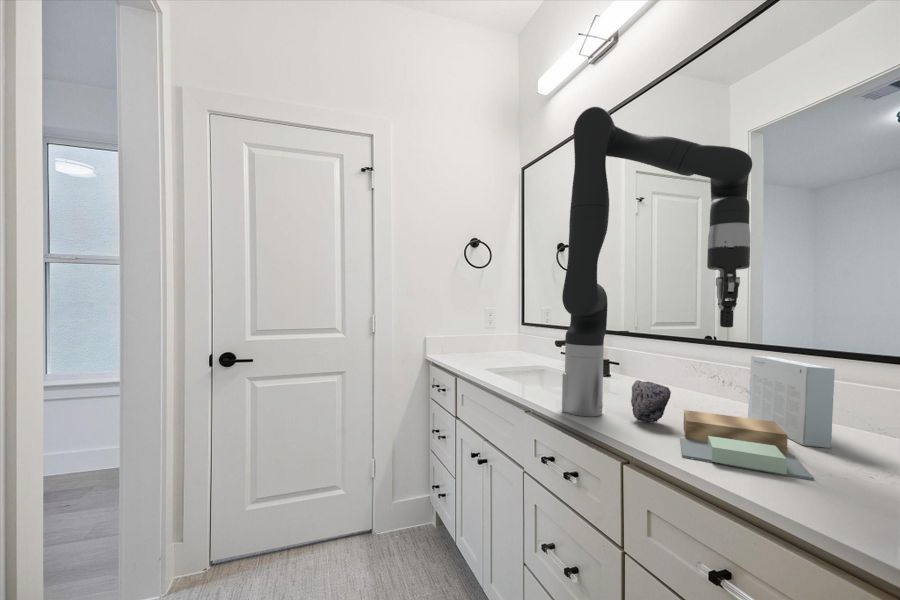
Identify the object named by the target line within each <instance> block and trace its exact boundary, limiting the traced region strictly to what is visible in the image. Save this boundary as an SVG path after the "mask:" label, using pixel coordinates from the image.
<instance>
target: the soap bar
mask: <svg viewBox="0 0 900 600" xmlns="http://www.w3.org/2000/svg"><path fill="white" fill-rule="evenodd" d="M708 451H709V454H710V457H711V460H712V462H717V463H716V464H718V463H723V464H722V465H724V464H729V465H734V466H733V467H735V466H740V467H739V468H741V467H746V468H752V469H758V470H763V471H769V472H775V473H781V474H786V475H787V459H786V457H785V456H784V455H783V454H782V453H781V452H780V450H779V449H778V448H777V447H776V446H774V445H767V444H760V443H753V442H747V441H740V440H733V439H726V438H720V437H713V436H708ZM712 462H711V463H712ZM729 465H728V466H729ZM746 468H745V469H746ZM752 469H751V470H752ZM758 470H757V471H758ZM763 471H762V472H763ZM769 472H768V473H769ZM775 473H774V474H775ZM786 475H785V476H786Z"/></svg>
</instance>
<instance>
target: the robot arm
mask: <svg viewBox="0 0 900 600" xmlns="http://www.w3.org/2000/svg"><path fill="white" fill-rule="evenodd" d="M573 145H574V146H573V147H574V148H573V149H574V169H573V170H574V171H573V179H572V187H571V198H570V199H571V201H570V209H569V222H568V224H569V228H568V229H569V230H568V231H569V233H568V250H567V251H568V252H567V255H568V256H567V263H566V264H567V265H566V272H565V278H564V284H563V288H562V294H561V295H562V297H561V298H562V299H561V300H562V304H563V307H564V309H565V310H566V312H567V313H568V314H569V315H570V323H569V327H568V329H567V330H566V333H565V337H564V338H565V344H564V345H565V349H564V351H565V353H564V372H563V373H562V384H561V385H562V388H561V390H562V391H561V393H562V394H561V412H564V413H567V414H570V415H575V416H581V417H598V416H601V415H603V401H604V400H603V397H604V395H603V394H604V392H603V390H604V348H605V347H604V346H605V345H604V344H605V343H604V342H605V341H604V340H605V336H606V332H607V327H608V326H607V325H608V323H607V321H608V295H607V292H606V290H605V288H604V287H603V286H602V285H601V284H599V283H598V261H599V257H600V252H601V251H602V247H603V245H604V243H605V239H606V236H607V232H608V226H609V216H610V215H609V213H610V195H609V194H610V192H609V183H608V176H607V169H606V165H607V164H606V160H607V157H611V158H618V159H624V160H629V161H633V162H637V163H641V164H645V165H648V166H651V167H655V168H658V169H661V170H664V171H668V172H670V173H674V174H677V175H679V176H686V177H691V176H693V175H697V176H700V177H704V178H709V179H710V199H711V200H710V201H711V204H710V210H709V230H708V236H707V256H706V257H707V259H706V260H707V261H706V264H707V265H706V267H707V269H709V270H712V271H719V276H717V277H716V278H715V286H716V298H717V302H718V303H717V305H718V308H719V309H718V310H720V311H719V326H720V327H722V328H733V327H734V311H735V309H736V307H737V305H738V303H737V302H738V301H737V299H738V297H739V287H740V284H741V277H740V276H737V270H738V271H739V270H746V269H749V268H750V266H751V230H750V212H751V211H750V202H749V200H748V187H749V186H748V185H749V175H750V174H751V171H752V169H753V161H752V158H751V156H750V154H748V153H747V152H745V151H744V150H741V149H739V148H735V147H729V146H724V145H721V146H720V145H709V144H707V145H705V144H700V143H698V142H693V141H689V140H687V139H681V138H678V137H673V136H667V135H665V136H664V135H644V134H636V133H632V132H630V131H627V130H626V129H622V128H620V127H619V126H616V125H615V123H614V120H613V118H612V116H611V114H610V113H609V112H608V110H607V109H604V108H602V107H600V106H591V107H589V108H586V109H585V110H583V111H582V112H581V114H579V116H578V117H577V118H576V120H575V122H574V126H573Z"/></svg>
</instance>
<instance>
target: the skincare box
mask: <svg viewBox="0 0 900 600" xmlns="http://www.w3.org/2000/svg"><path fill="white" fill-rule="evenodd" d="M749 370H750V375H749V376H750V377H749V388H748V389H749V390H748V395H749V398H748V408H747V418H751V419H759V420H767V421H774V422H775V423H776V424H777V425H778V426H779V427H780V428H781V429H782V430H783V431H784V432H785V433H786V434H787V439H790V440H791V441H794V442H795V443H797V444H799V445H802V446H805V447H806V446H807V447H819V448H827V449H829V448H830V449H831V448H832V438H833V437H832V433H833V432H832V431H833V411H834V410H833V409H834V390H835V373H836V372H835V371H836V369H835V368H832V367H827V366H823V365H818V364H817V365H816V364H814V363H813V364H812V363H807V362H801V361H797V360H791V359H787V358H786V359H785V358H780V357H775V356H767V355H766V356H763V355H750V369H749Z"/></svg>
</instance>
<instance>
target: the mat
mask: <svg viewBox="0 0 900 600" xmlns="http://www.w3.org/2000/svg"><path fill="white" fill-rule="evenodd" d="M679 442H680V450H681V451H680V452H681V458H684V457H687V458H686V459H690V458H693V459H692V460H695V459H698V460H697V461H701V460H703V461H702V462H707V461H709V462H708V463H712V460H711V457H710V454H709V451H708V442H704V441H698V440H691V439H685V437H679ZM783 455H784V456H785V457H786V459H787V475H786V474H781V473H775V472H769V471H763V470H758V469H752V468H746V467H740V466H734V465H729V464H723V463H720V464H719V465H724V466H731V467H735V468H741V469H746V470H747V469H748V470H752V471H758V472H765V473H769V474H774V475H775V474H776V475H780V476H781V475H782V476H787V477H793V478H797V479H798V478H799V479H803V480H804V479H805V480H808V481H809V480H810V481H815V477H814V476H813V475H812V473H811V472H810V471H809V470H808V469H807V468H806V467H805V466H804V465H803V463H802V462H801V461H800V460H799V459H798V458H797V457H796V456H795V455H793V454H788V453H787V454H783ZM714 464H718V463H717V462H715V463H714Z"/></svg>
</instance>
